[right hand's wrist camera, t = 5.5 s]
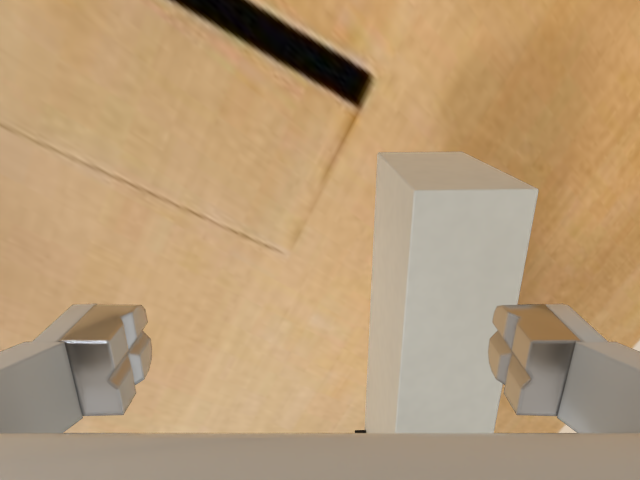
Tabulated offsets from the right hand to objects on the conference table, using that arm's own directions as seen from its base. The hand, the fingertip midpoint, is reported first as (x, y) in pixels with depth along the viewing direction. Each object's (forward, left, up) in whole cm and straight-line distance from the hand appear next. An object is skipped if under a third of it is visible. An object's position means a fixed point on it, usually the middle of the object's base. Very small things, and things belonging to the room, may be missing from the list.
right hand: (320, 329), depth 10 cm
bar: (+10, +6, -14) cm, 19 cm away
